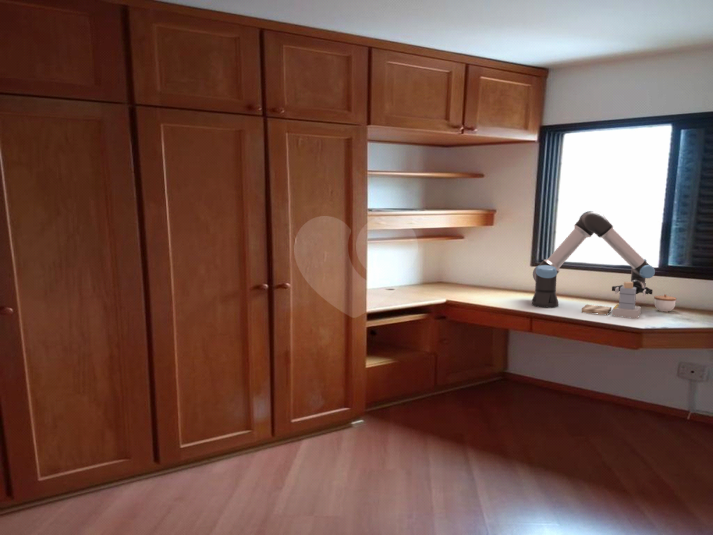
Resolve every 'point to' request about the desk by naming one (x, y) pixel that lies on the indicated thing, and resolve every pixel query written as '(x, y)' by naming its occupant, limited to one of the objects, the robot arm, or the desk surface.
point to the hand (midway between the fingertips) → (629, 292)
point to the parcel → (628, 285)
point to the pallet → (596, 309)
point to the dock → (626, 311)
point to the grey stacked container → (627, 298)
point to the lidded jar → (664, 302)
